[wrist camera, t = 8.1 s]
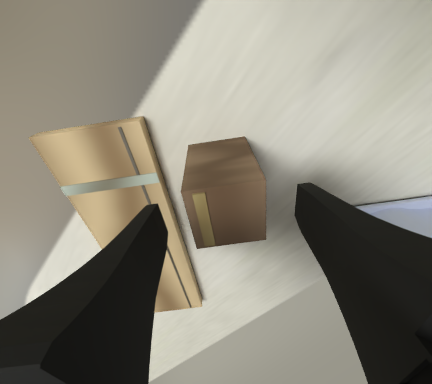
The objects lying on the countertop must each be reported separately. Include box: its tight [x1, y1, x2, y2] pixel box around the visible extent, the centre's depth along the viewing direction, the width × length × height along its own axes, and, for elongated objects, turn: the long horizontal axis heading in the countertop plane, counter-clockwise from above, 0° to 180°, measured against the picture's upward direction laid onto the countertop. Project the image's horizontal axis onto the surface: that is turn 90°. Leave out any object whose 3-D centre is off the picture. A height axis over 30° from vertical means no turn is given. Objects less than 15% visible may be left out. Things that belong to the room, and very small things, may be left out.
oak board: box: [29, 116, 202, 312], centre depth 19 cm, size 7×22×1 cm, turn 8°
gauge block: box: [181, 137, 266, 249], centre depth 13 cm, size 4×4×6 cm
